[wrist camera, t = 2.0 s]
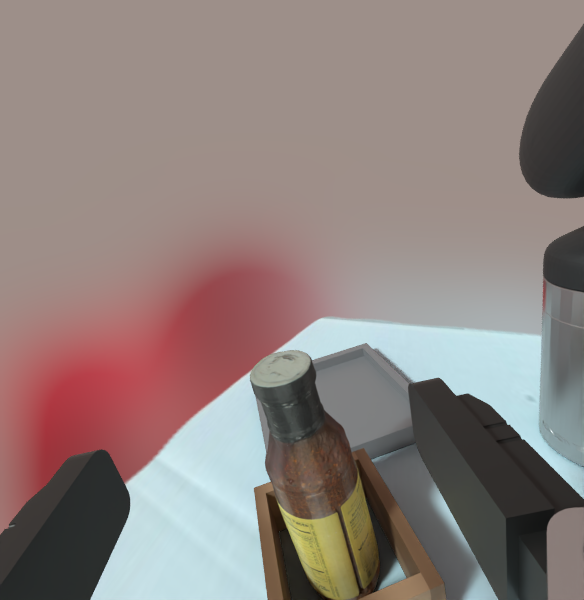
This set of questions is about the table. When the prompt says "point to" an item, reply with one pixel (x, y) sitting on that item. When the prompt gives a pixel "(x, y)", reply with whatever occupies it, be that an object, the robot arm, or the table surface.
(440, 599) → the condiment box
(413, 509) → the table surface
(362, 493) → the sauce bottle
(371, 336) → the table surface
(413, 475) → the table surface
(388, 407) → the serving tray
